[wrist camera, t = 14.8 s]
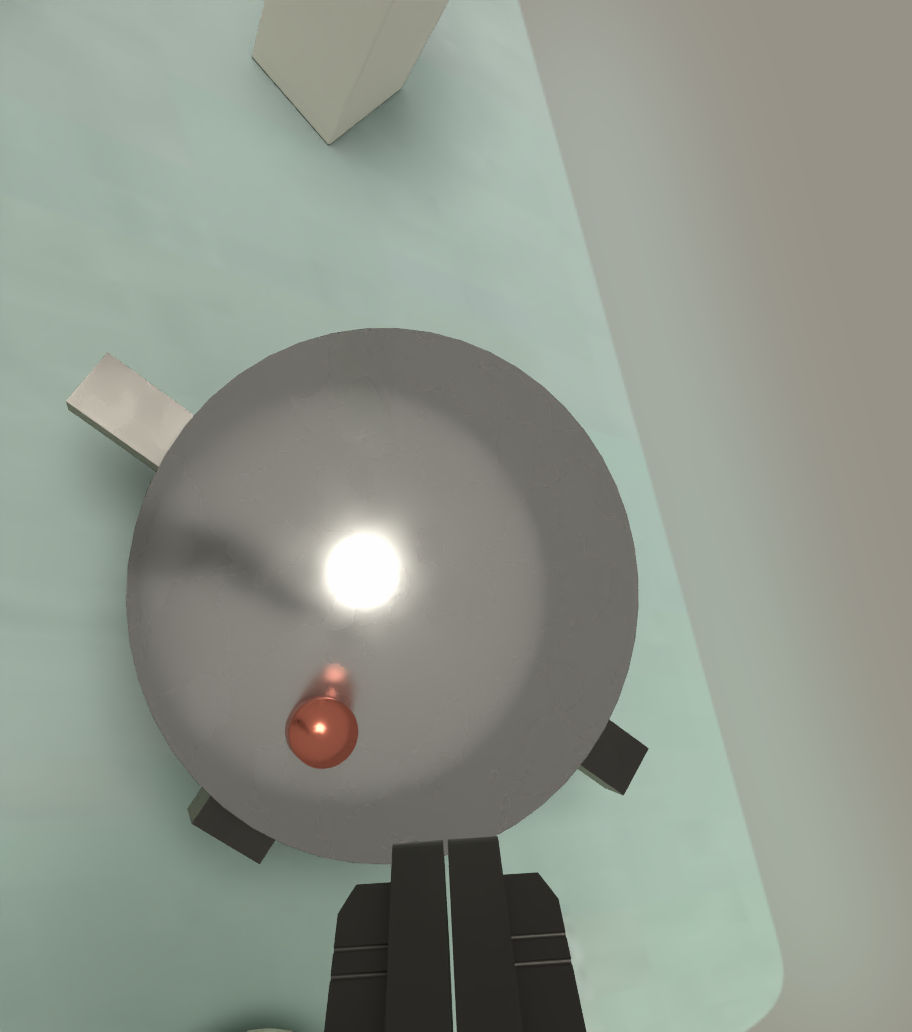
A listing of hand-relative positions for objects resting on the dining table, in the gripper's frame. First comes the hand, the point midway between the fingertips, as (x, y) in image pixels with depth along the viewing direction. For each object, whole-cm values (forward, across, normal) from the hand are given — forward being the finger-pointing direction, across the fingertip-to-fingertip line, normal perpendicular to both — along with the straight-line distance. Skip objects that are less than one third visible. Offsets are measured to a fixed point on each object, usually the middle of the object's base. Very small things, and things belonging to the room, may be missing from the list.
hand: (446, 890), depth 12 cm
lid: (+22, +2, +5) cm, 23 cm away
